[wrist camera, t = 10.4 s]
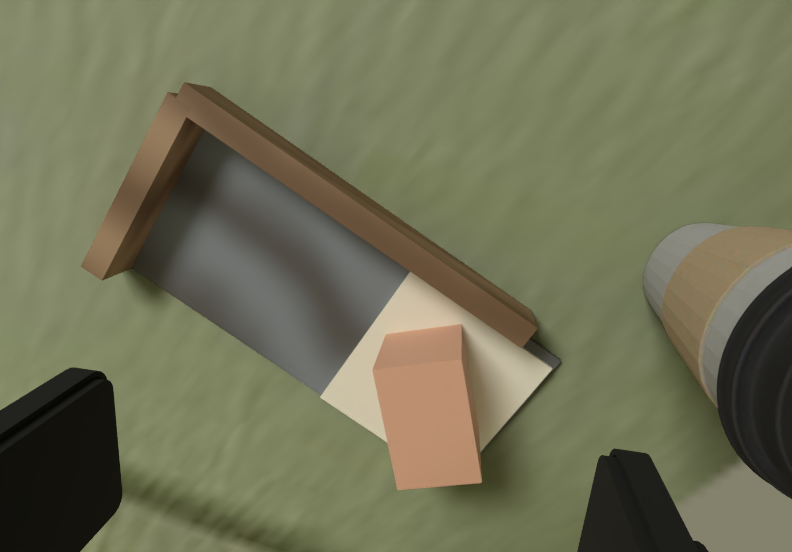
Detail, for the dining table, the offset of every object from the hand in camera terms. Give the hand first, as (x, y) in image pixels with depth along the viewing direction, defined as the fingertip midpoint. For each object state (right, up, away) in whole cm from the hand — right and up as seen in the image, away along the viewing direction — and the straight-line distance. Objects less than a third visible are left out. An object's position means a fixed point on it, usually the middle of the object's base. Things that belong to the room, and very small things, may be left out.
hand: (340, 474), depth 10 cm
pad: (+3, -3, +22) cm, 23 cm away
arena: (-2, +2, +22) cm, 22 cm away
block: (+3, -3, +22) cm, 22 cm away
